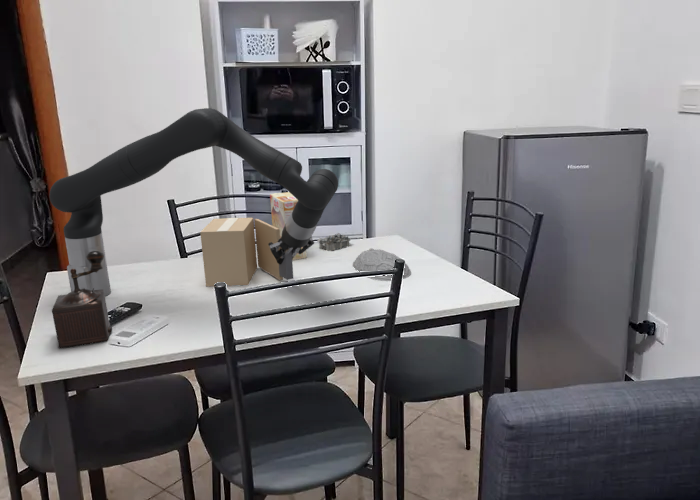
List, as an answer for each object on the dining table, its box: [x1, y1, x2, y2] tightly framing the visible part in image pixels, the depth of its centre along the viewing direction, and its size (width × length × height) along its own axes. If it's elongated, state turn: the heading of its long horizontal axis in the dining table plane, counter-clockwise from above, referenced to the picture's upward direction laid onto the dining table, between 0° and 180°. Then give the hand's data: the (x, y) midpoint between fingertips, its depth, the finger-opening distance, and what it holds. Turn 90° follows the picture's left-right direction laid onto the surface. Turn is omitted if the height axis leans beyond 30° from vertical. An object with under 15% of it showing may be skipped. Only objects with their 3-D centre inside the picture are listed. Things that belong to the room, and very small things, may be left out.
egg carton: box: [316, 232, 352, 252], centre depth 202 cm, size 11×8×4 cm
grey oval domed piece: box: [352, 247, 412, 282], centre depth 177 cm, size 16×25×7 cm, turn 27°
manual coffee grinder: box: [51, 251, 113, 349], centre depth 136 cm, size 16×11×18 cm
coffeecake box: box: [269, 191, 307, 261], centre depth 193 cm, size 15×7×20 cm, turn 23°
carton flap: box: [253, 218, 294, 281], centre depth 171 cm, size 21×2×15 cm, turn 31°
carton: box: [199, 217, 258, 288], centre depth 172 cm, size 16×12×16 cm
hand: (282, 260), depth 166 cm, fingers closed on carton flap, 2 cm apart
